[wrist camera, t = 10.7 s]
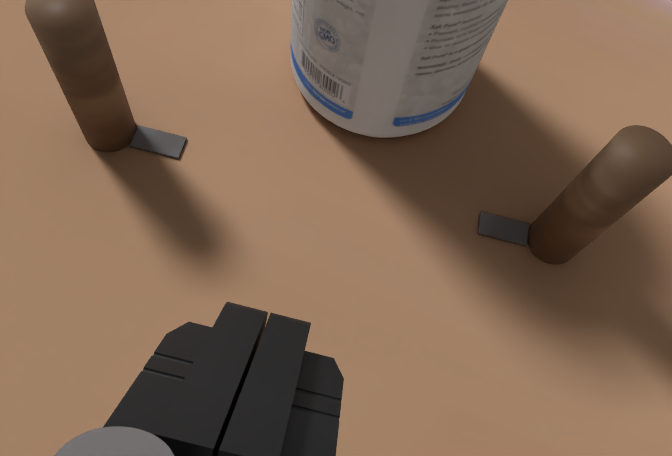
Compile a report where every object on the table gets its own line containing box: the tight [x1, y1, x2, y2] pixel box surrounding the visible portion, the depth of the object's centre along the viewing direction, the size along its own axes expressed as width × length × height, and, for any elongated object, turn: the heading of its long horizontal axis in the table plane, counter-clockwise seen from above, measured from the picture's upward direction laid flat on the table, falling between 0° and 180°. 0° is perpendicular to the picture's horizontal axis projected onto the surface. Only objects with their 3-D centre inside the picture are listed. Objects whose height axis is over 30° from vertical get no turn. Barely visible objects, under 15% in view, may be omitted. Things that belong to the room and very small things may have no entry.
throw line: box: [25, 0, 672, 264], centre depth 26 cm, size 24×2×8 cm, turn 77°
